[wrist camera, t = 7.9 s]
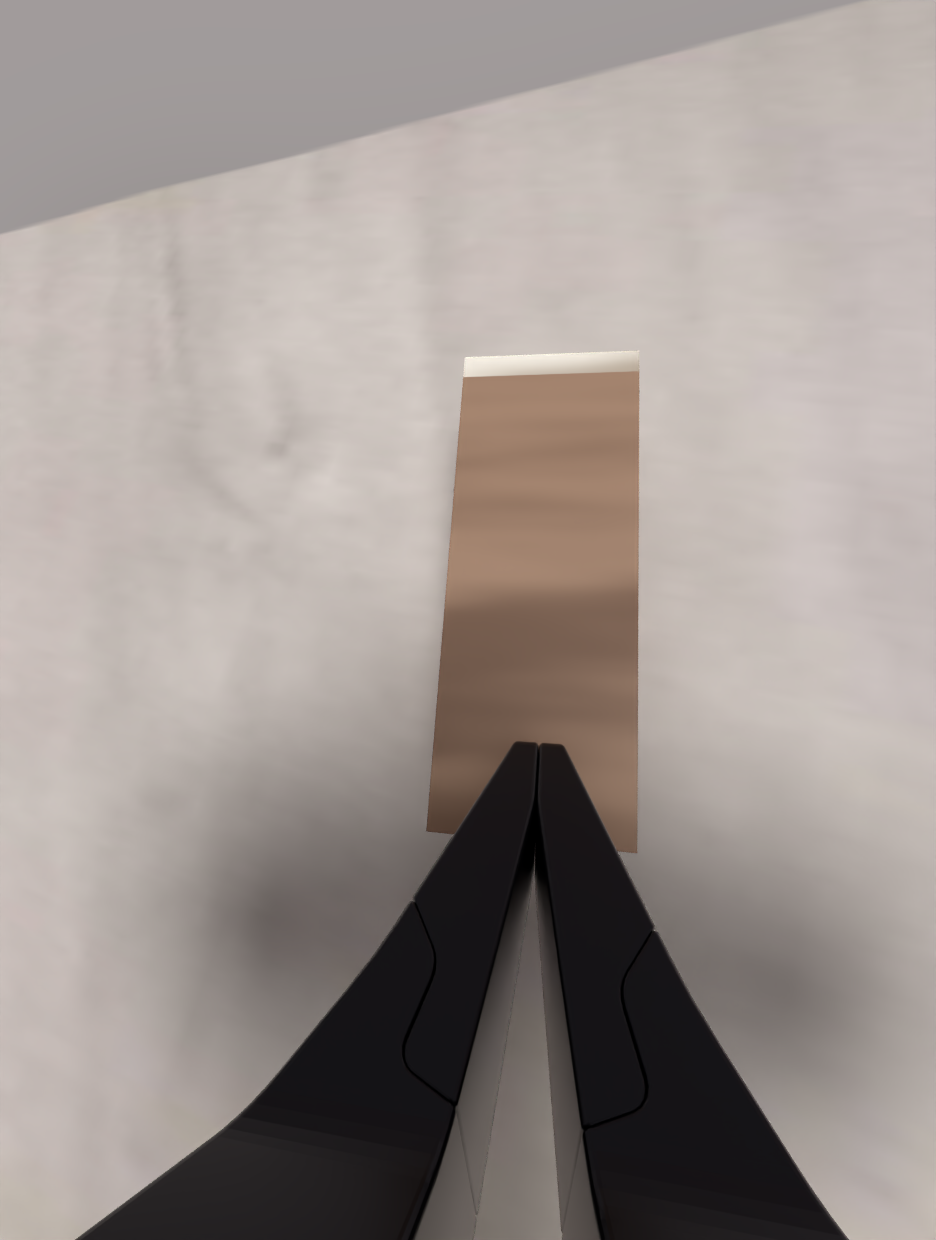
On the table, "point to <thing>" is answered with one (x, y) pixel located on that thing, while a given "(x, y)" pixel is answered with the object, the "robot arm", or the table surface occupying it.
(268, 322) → the table surface
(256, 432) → the table surface
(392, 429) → the table surface
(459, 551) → the walnut block
